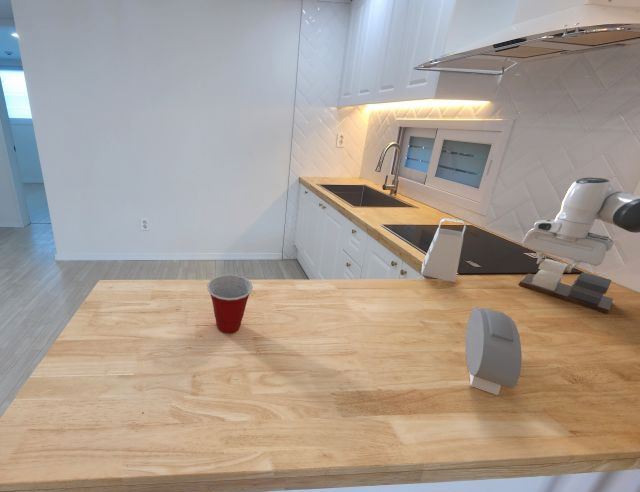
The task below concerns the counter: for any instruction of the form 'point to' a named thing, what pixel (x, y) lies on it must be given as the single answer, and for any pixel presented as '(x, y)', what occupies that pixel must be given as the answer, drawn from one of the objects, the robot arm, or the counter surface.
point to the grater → (444, 253)
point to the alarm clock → (492, 350)
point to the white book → (553, 266)
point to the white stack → (547, 280)
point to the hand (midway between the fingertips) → (552, 267)
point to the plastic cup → (229, 300)
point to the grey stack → (589, 288)
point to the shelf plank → (566, 294)
